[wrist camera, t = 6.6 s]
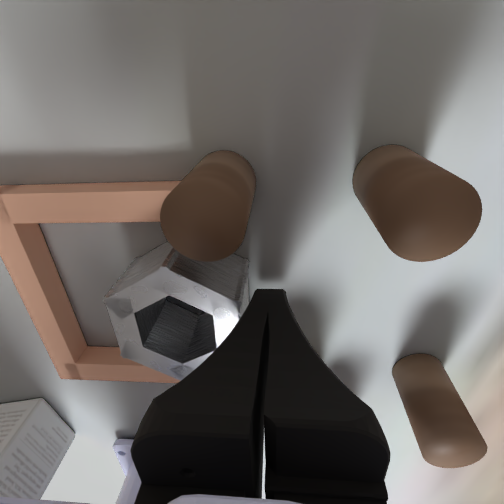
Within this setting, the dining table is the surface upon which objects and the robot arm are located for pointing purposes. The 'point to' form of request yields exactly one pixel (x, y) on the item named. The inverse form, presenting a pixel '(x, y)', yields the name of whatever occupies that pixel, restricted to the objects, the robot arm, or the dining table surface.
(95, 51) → the dining table surface
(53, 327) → the parts bay
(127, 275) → the steel nut
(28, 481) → the skincare box
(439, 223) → the walnut spacers
